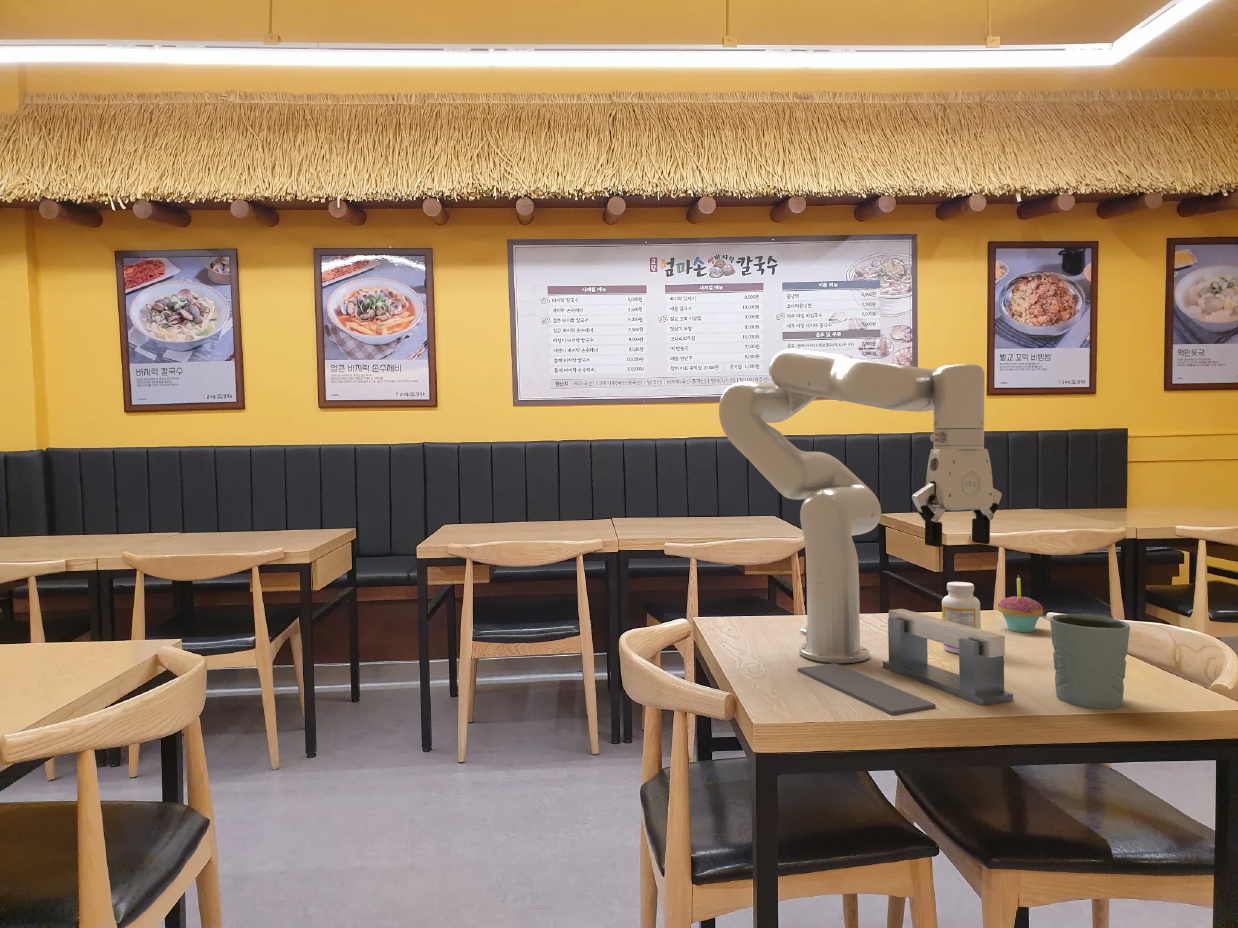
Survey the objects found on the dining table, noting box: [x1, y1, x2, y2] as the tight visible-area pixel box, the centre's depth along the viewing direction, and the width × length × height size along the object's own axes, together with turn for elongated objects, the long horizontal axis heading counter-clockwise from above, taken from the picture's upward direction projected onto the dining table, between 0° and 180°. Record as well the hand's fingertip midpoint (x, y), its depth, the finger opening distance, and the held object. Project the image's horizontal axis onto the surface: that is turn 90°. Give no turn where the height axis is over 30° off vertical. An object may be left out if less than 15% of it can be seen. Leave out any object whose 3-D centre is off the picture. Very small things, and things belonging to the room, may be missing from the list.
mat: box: [796, 663, 937, 716], centre depth 118 cm, size 24×8×1 cm, turn 20°
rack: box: [882, 617, 1014, 706], centre depth 120 cm, size 22×6×9 cm, turn 20°
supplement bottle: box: [941, 581, 982, 655], centre depth 139 cm, size 7×7×13 cm
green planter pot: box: [1049, 613, 1131, 709], centre depth 111 cm, size 10×10×12 cm
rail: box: [888, 608, 1006, 658], centre depth 120 cm, size 22×3×3 cm, turn 20°
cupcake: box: [997, 574, 1044, 633], centre depth 155 cm, size 9×8×12 cm
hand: (957, 544), depth 120 cm, fingers open, 9 cm apart
